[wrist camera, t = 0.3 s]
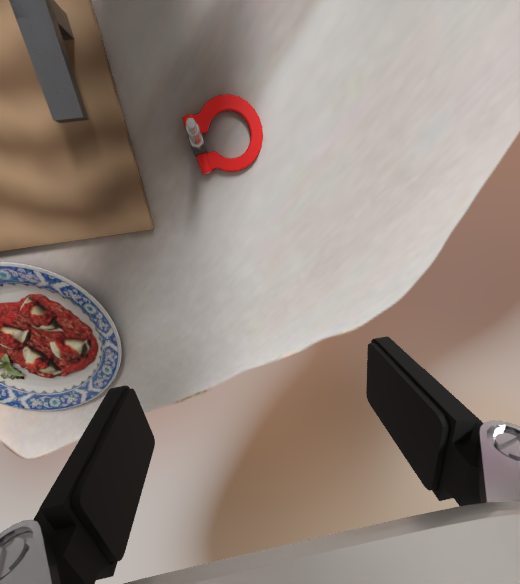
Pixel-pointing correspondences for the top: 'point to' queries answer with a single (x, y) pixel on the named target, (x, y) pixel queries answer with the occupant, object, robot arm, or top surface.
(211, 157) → the tow hook
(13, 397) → the ceramic plate
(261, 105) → the top surface
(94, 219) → the board
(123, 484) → the robot arm
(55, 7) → the bracket
